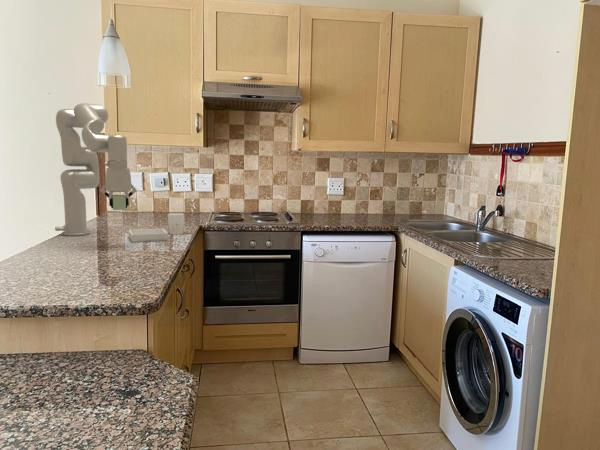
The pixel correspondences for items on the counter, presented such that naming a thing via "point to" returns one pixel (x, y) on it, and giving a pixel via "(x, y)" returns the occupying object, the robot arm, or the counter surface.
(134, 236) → the white bin
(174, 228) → the white cup
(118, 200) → the green block
